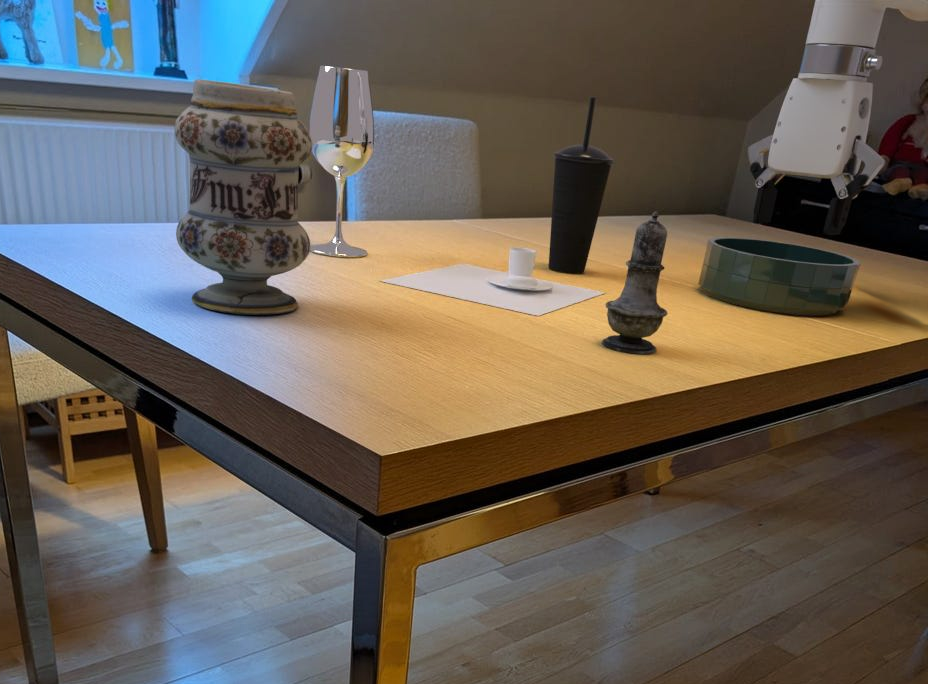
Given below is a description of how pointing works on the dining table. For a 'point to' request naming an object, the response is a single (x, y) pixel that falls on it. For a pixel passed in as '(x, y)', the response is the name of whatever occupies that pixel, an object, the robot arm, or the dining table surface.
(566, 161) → the drinking cup
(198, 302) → the apothecary jar
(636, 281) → the salt shaker
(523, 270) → the teacup and saucer
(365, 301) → the dining table surface
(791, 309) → the bowl
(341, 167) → the wineglass
